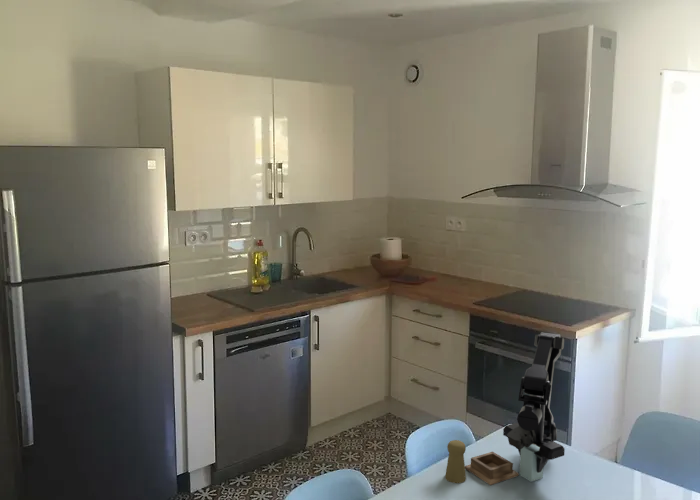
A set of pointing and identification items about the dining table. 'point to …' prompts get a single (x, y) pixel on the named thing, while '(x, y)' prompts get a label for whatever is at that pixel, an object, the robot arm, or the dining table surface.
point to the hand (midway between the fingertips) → (531, 468)
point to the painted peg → (529, 463)
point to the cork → (456, 462)
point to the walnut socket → (491, 468)
